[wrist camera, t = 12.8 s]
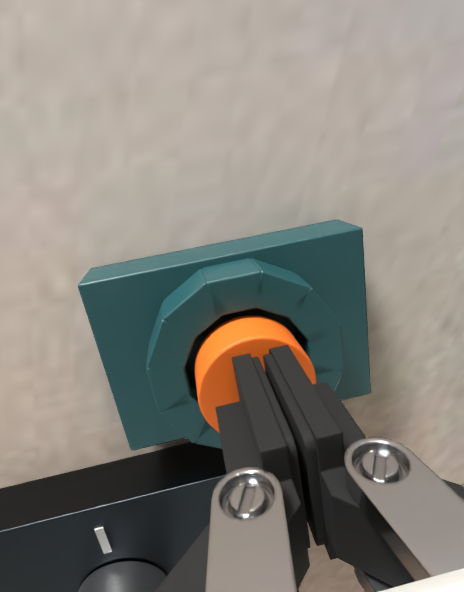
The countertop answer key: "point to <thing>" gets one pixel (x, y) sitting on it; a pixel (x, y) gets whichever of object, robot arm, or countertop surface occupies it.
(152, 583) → the dial
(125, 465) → the control panel
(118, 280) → the button block
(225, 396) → the button
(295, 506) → the robot arm
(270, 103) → the countertop surface
